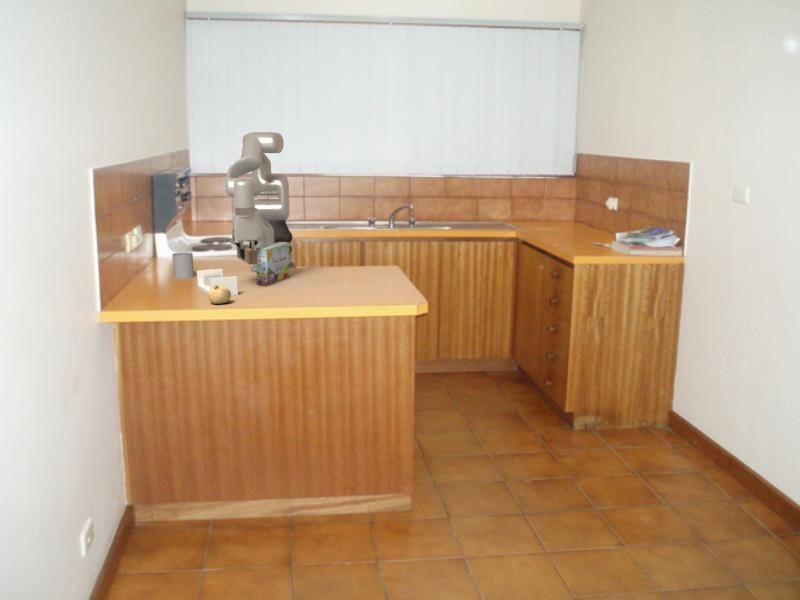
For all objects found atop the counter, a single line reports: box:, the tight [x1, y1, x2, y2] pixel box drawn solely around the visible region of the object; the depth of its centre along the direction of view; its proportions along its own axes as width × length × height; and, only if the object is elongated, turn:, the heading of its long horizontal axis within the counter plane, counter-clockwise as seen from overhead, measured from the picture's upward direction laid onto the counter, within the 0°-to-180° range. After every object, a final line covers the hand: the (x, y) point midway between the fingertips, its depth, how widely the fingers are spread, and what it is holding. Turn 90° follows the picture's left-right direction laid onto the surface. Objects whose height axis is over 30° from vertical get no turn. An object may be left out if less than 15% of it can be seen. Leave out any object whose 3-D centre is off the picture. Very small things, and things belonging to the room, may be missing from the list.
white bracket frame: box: [196, 268, 239, 296], centre depth 302 cm, size 10×21×7 cm, turn 28°
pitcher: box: [268, 219, 293, 244], centre depth 390 cm, size 21×22×25 cm
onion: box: [207, 285, 232, 305], centre depth 280 cm, size 8×8×7 cm
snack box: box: [256, 242, 291, 286], centre depth 323 cm, size 21×6×15 cm, turn 163°
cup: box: [171, 252, 195, 280], centre depth 332 cm, size 8×8×10 cm
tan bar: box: [236, 244, 258, 265], centre depth 308 cm, size 3×16×5 cm, turn 28°
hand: (247, 257), depth 308 cm, fingers closed on tan bar, 2 cm apart
